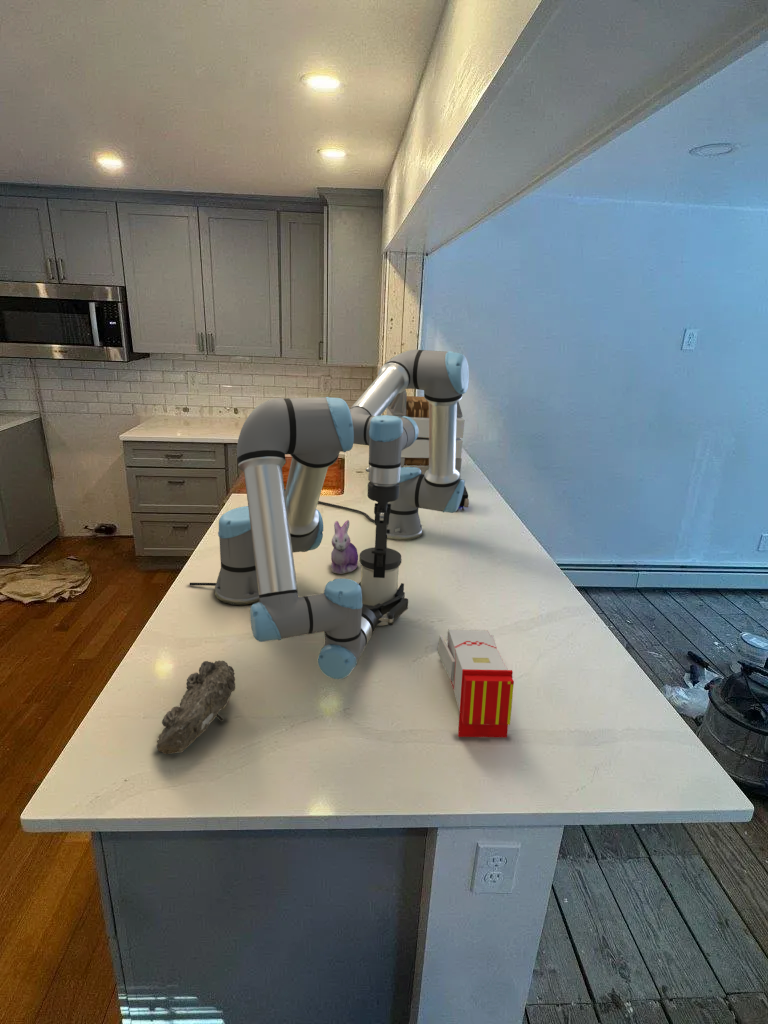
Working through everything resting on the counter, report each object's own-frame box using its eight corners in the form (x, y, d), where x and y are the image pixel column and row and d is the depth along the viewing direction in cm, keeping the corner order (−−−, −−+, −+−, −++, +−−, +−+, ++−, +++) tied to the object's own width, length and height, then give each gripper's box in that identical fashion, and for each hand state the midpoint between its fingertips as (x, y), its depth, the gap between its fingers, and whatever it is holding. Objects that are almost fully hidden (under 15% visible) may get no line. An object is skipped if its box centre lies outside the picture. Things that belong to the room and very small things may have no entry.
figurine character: (468, 516, 224) (463, 500, 237) (471, 498, 221) (465, 483, 234) (452, 515, 224) (447, 499, 237) (453, 498, 220) (449, 482, 234)
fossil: (184, 662, 117) (235, 629, 112) (216, 692, 120) (268, 662, 115) (132, 748, 97) (191, 713, 92) (172, 781, 100) (232, 750, 95)
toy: (488, 613, 130) (523, 677, 101) (484, 667, 133) (517, 744, 104) (435, 612, 130) (455, 676, 101) (432, 666, 133) (451, 743, 103)
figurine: (336, 577, 165) (336, 529, 160) (323, 563, 174) (323, 517, 169) (365, 572, 170) (367, 525, 164) (351, 558, 178) (352, 514, 173)
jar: (402, 621, 144) (406, 563, 139) (368, 628, 140) (371, 569, 135) (386, 604, 152) (388, 549, 147) (353, 610, 148) (355, 554, 143)
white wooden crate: (382, 463, 289) (386, 382, 275) (445, 464, 293) (451, 384, 279) (390, 482, 257) (394, 392, 243) (460, 483, 261) (468, 394, 247)
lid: (356, 553, 145) (356, 547, 144) (397, 552, 147) (397, 546, 146) (362, 571, 135) (362, 565, 135) (405, 569, 137) (405, 563, 136)
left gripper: (311, 633, 131) (343, 590, 152) (403, 651, 126) (424, 604, 147) (311, 605, 129) (343, 565, 149) (405, 622, 124) (426, 578, 144)
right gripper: (370, 468, 145) (367, 548, 152) (364, 496, 123) (361, 587, 131) (399, 470, 145) (395, 549, 152) (399, 498, 123) (394, 589, 131)
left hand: (383, 584), depth 148 cm, fingers closed on jar, 9 cm apart
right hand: (379, 567), depth 141 cm, fingers closed on lid, 10 cm apart
